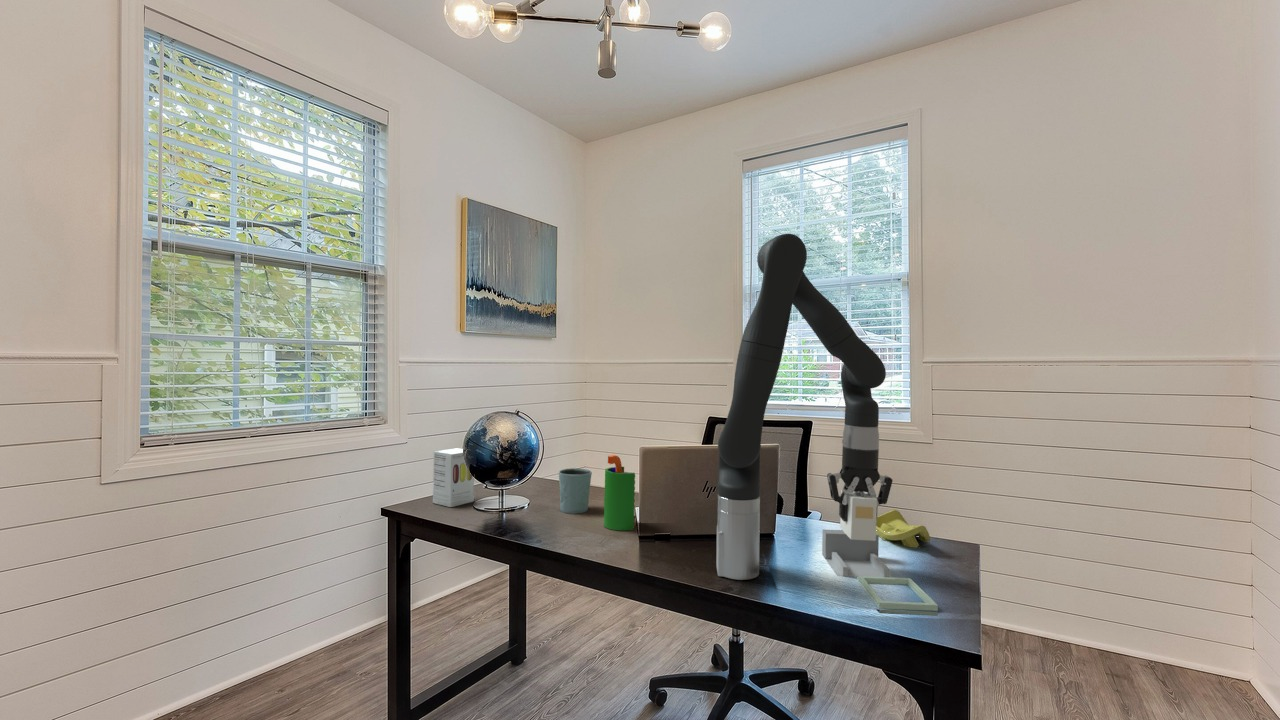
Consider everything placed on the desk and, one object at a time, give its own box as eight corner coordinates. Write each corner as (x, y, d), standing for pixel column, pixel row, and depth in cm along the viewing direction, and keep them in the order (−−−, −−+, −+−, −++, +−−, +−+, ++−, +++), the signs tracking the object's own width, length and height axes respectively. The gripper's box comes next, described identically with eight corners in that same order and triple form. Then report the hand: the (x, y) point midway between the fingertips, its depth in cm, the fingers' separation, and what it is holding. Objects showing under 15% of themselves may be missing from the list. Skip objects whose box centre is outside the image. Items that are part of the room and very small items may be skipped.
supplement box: (450, 508, 173) (450, 454, 173) (431, 503, 178) (432, 451, 178) (474, 501, 181) (475, 450, 181) (456, 497, 186) (456, 447, 186)
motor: (643, 527, 155) (643, 456, 155) (616, 533, 150) (616, 459, 150) (623, 518, 163) (624, 451, 163) (597, 523, 158) (597, 453, 158)
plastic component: (866, 521, 155) (900, 506, 155) (879, 545, 155) (912, 531, 154) (890, 538, 136) (928, 522, 135) (904, 567, 135) (942, 550, 134)
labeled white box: (851, 539, 120) (852, 493, 119) (840, 527, 128) (841, 484, 128) (875, 541, 119) (877, 494, 119) (863, 529, 127) (864, 485, 127)
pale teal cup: (552, 508, 173) (553, 470, 173) (580, 503, 179) (580, 466, 179) (568, 516, 165) (569, 476, 165) (597, 510, 171) (597, 472, 171)
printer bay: (837, 580, 119) (837, 548, 119) (822, 558, 132) (822, 529, 132) (894, 582, 118) (895, 550, 118) (873, 560, 131) (874, 531, 131)
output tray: (879, 613, 104) (879, 602, 104) (858, 585, 117) (858, 576, 117) (937, 615, 103) (937, 605, 103) (910, 587, 116) (910, 578, 116)
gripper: (832, 447, 120) (829, 524, 120) (900, 449, 119) (897, 528, 119) (823, 441, 128) (820, 514, 128) (887, 444, 127) (884, 517, 127)
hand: (857, 520), depth 124 cm, fingers closed on labeled white box, 5 cm apart
